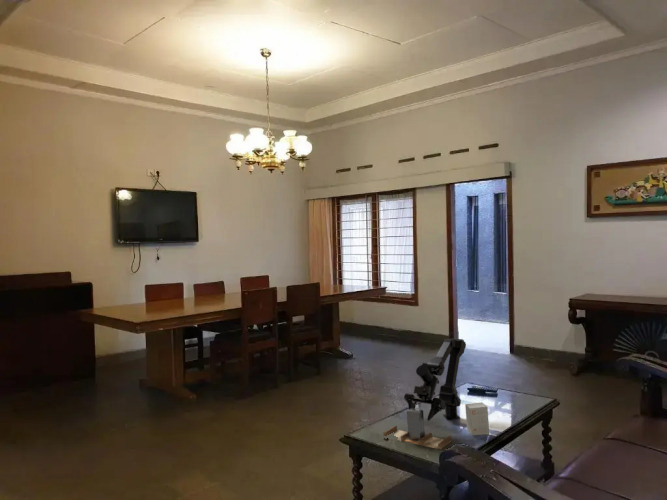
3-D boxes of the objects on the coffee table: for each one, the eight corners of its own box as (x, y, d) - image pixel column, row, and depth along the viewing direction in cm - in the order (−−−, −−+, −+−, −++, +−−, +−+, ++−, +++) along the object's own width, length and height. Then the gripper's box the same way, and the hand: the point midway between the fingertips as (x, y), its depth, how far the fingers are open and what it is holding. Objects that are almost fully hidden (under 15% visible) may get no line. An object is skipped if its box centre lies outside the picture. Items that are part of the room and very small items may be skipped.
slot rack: (383, 438, 229) (382, 432, 229) (395, 431, 237) (394, 425, 237) (440, 451, 211) (440, 444, 211) (451, 443, 219) (451, 436, 219)
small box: (484, 430, 230) (482, 401, 230) (489, 435, 224) (487, 406, 224) (466, 432, 230) (464, 403, 230) (472, 437, 223) (470, 408, 223)
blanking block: (408, 439, 224) (406, 410, 224) (413, 435, 227) (411, 408, 227) (420, 441, 221) (418, 412, 220) (425, 438, 224) (423, 410, 223)
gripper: (404, 375, 236) (393, 406, 228) (440, 380, 224) (430, 413, 216) (413, 388, 242) (403, 418, 234) (450, 393, 230) (440, 425, 222)
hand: (418, 418), depth 226 cm, fingers open, 9 cm apart
